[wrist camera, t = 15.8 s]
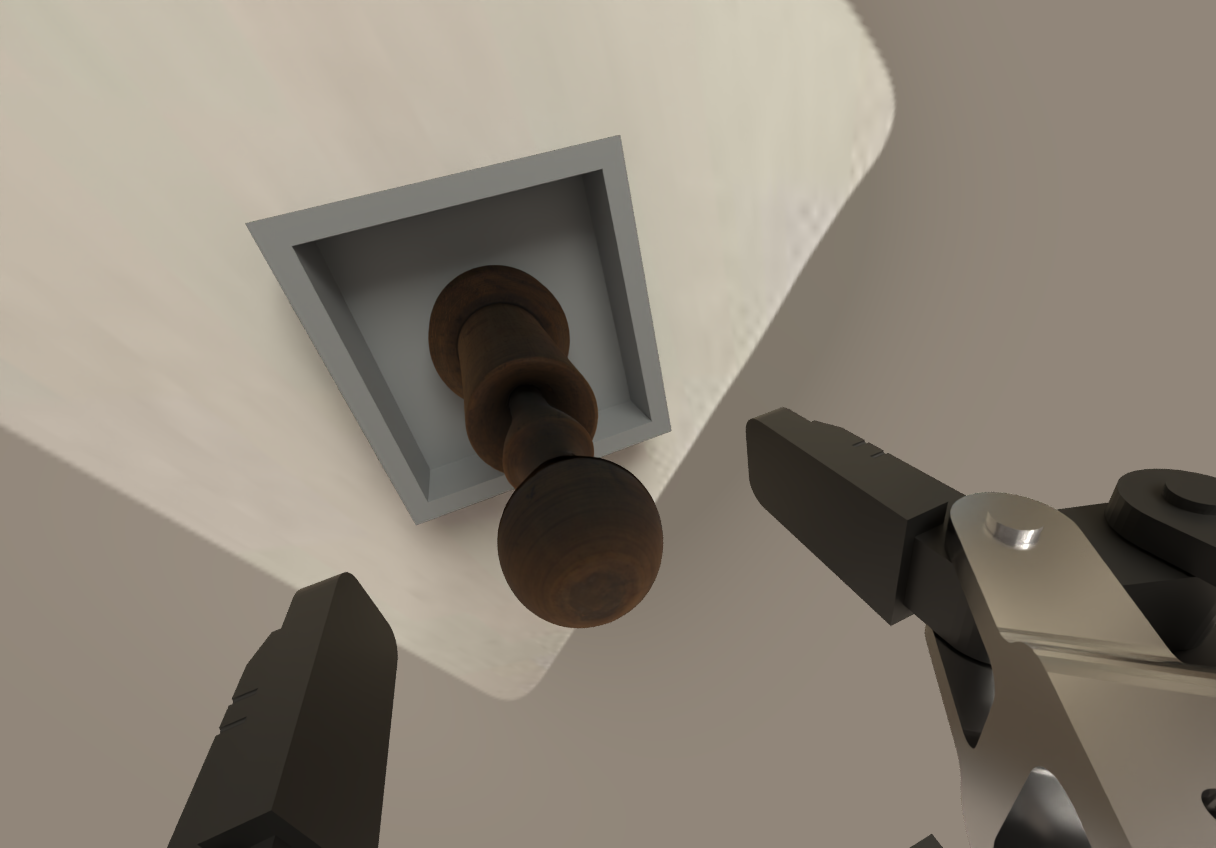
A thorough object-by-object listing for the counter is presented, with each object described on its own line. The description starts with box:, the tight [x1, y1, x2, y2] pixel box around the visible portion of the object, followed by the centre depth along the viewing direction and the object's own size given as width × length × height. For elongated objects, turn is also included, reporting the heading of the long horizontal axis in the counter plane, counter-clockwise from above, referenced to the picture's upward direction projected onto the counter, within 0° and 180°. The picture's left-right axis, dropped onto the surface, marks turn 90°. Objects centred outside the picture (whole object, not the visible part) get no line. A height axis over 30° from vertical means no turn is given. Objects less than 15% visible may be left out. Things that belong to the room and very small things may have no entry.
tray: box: [245, 135, 671, 525], centre depth 22 cm, size 14×14×4 cm
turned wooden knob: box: [428, 265, 663, 628], centre depth 15 cm, size 7×6×18 cm
